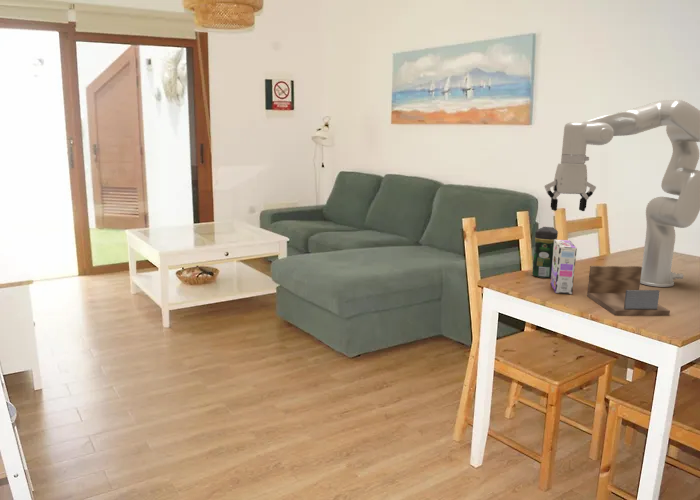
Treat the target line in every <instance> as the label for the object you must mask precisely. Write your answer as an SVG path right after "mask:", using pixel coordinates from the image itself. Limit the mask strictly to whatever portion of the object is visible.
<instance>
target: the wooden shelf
mask: <svg viewBox="0 0 700 500" xmlns="http://www.w3.org/2000/svg"><path fill="white" fill-rule="evenodd" d="M641 271H642V265H641V266H640V265H590V266H589V273H588V284H587V293H586V296H587V297H588V298H589V299H591V300H592V301H593V302H594V303H597V304H598V305H600V306H601V307H602V308H603V309H605V310H607V311H608V312H609V313H611V314H612V315H614V316H670V314H671V310H669V309H668V308H666V307H664V306H663V305H661V304H660V303H658V307H657V310H625V309H624V303H625V295H626V290H640V288H641V287H640V285H641V283H640V279H641Z"/></svg>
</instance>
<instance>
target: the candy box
mask: <svg viewBox="0 0 700 500" xmlns="http://www.w3.org/2000/svg"><path fill="white" fill-rule="evenodd" d="M577 249H578V248H577V247H576V246H575V245H574V244H573V242H572V241H571V240H570V239H569V240H568V239H557V240H554V247H553V260H552V272H551V278H550V285H551V288H552V289H553V291H554V293H555V294H565V295H573V291H574V290H573V288H574V286H573V285H574V279H575V270H576V269H575V266H576V259H577V251H578V250H577Z"/></svg>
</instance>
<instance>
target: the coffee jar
mask: <svg viewBox="0 0 700 500" xmlns="http://www.w3.org/2000/svg"><path fill="white" fill-rule="evenodd" d="M558 234H559V232H558V230H557V229H556V228H555V227H553V226H552V227H551V226H542V227H540V228H537V229H536V230H535V234H534V236H535V237H534V247H533V249H534V250H533V260H532V261H533V262H532V276H533V277H538V278H541V279H546V278H548V279H551V272H552V260H553V247H554V240H558Z"/></svg>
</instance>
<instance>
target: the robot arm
mask: <svg viewBox="0 0 700 500" xmlns="http://www.w3.org/2000/svg"><path fill="white" fill-rule="evenodd" d="M665 126H666V128H665V131H666V135H667V137H668V138H669V141H670V143H671V147H672V155H671V158H670V160H669V162H668V165H667V168H666V170H665V172H664V175H663V177H662V180H661V185H660V186H661V189H662V191H664V193H666V194H668V195H669V194H670V195H673V196H674V195H675V196H678V198H674V197H668V196H657V197H653V198H652V199H650V200H649V201H648V203H647V204H646V209H645V218H646V232H645V240H644V247H643V248H644V250H643V255H642V256H643V257H642V263H641V267H642V271H641V279H640V285H641V284H642V285H645V286H649V287H650V286H651V287H657V288H669V287H673V286H674V285H675V281H674V280H676V279H677V280H678V279H679V280H681V279H684V277H685V276H684V274H683V273H676V272H673V271H672V266H673V259H674V258H673V257H674V252H675V250H674V249H675V244H676V230H675V228H680V229H685V228H688V227H690V226H692V225H693V223H694V222H695V221H696V220H697V218H698V215H699V213H700V170H698V169H696V168H697V166H698V163H699V159H700V149H699V146H698V143H700V109H699V108H697V107H696V106H694V105H692V104H691V103H690V102H687V101H685V100H683V99H668V100H667V99H664V100H663V99H661V100H658V101H654V102H652V103H647V104H644V105H642V106H638V107H635V108H630V109H628V110H623V111H620V112H616V113H612V114H607V115H602V116H598V117H596V118H592V119H588V120H585V121H583V122H576V121H575V122H571V121H570V122H566V123H565V124H564V127H563V136H562V137H563V138H562V147H561V148H562V149H561V155H560V157H561V158H560V163H558V164H557V165H556V170H555V174H554V180H553V181H551V182H549V183H548V184H544V189H545V191H546V194H547V195H548V196H549V198H550V210H552V211H554V212H556V211H558V202H559V199H558V197H560V195H562V194H564V195H565V194H567V195H580V197H581V198H580V199H579V207H578V209H579V211H580V212H585V211H586V209H587V202H588V200H589V198H590V197H591V196H592V195H593V194H594V192H595V190H596V189H597V186H596V185H594V184H592V183H591V182H589V181H588V168H587V167H588V166H587V164H586V162H587V161H589V160H590V157H589V156H587V155H586V152H587V145H591V146H605V145H607V144H608V143H610V142H611V141H612V140H613V138H614V137H622V136H623V137H625V136H632V135H633V136H634V135H637V134H641V133H644V132H646V131H650V130H652V129H657V128H659V127H665ZM551 188H552V189H551ZM588 188H589V189H588ZM587 189H588V191H587Z"/></svg>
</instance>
